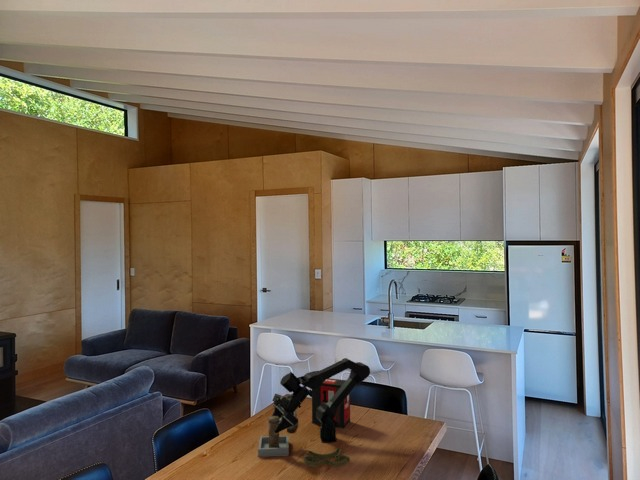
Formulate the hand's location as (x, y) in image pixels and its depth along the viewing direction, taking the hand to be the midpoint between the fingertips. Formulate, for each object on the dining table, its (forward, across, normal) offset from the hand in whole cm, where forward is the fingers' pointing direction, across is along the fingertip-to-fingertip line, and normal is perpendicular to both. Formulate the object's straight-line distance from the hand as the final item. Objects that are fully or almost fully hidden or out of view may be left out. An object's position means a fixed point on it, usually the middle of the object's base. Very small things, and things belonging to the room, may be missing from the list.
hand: (272, 428), depth 189 cm
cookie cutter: (-6, +17, +19) cm, 26 cm away
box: (+6, 0, +7) cm, 9 cm away
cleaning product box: (-18, -17, +31) cm, 40 cm away
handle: (+5, 0, +6) cm, 8 cm away
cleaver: (-4, -28, +18) cm, 34 cm away
